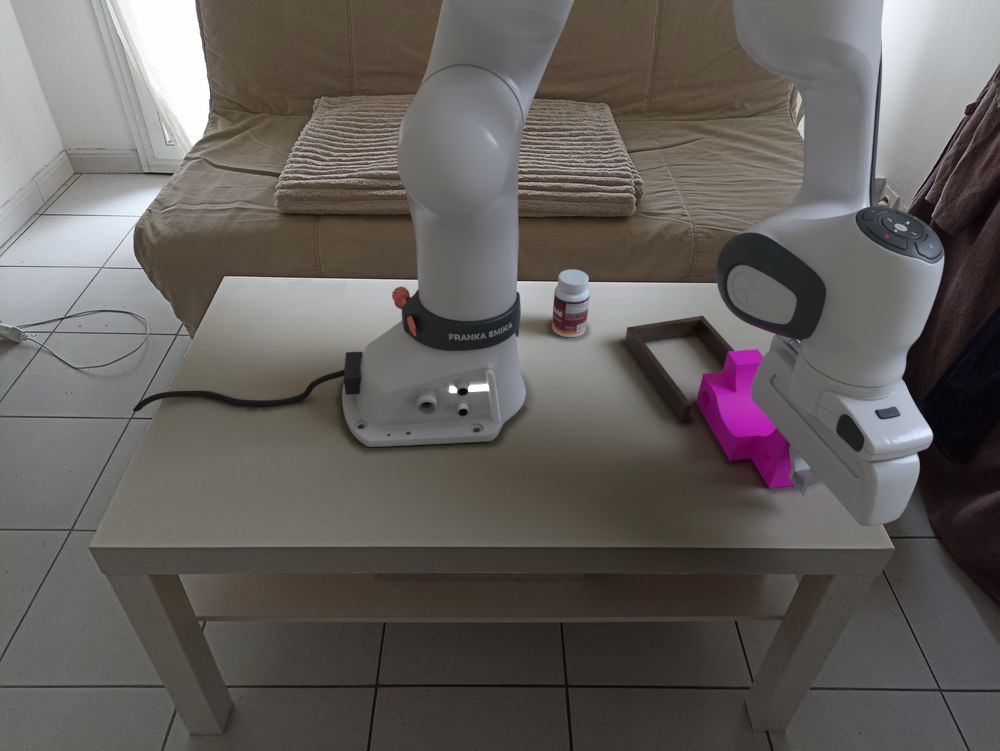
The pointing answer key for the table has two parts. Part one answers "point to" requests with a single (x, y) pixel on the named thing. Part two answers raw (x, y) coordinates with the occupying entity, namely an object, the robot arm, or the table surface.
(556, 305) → the pill bottle
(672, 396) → the bay
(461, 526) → the table surface
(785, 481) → the toy block
